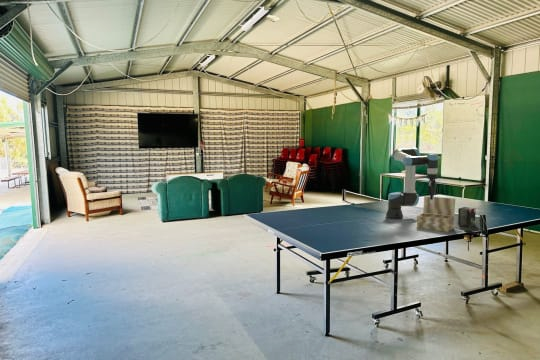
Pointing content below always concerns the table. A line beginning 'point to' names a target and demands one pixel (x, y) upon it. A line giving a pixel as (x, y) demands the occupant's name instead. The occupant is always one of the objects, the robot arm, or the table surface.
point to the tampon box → (466, 216)
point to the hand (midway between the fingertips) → (431, 203)
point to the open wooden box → (435, 222)
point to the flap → (439, 206)
